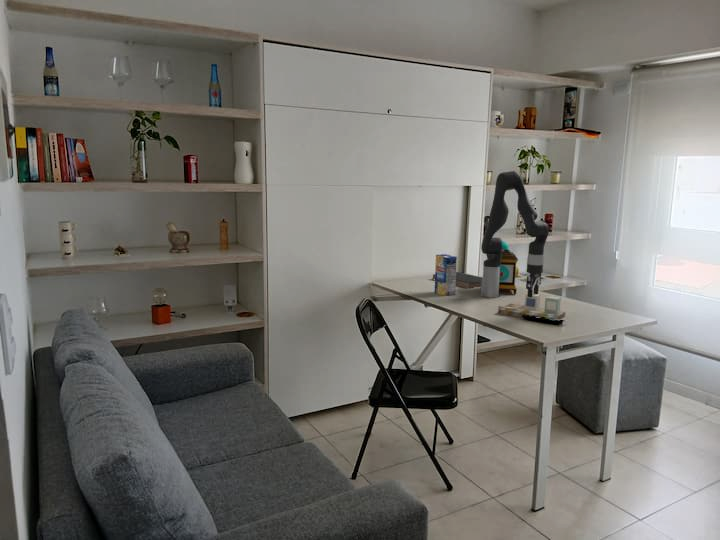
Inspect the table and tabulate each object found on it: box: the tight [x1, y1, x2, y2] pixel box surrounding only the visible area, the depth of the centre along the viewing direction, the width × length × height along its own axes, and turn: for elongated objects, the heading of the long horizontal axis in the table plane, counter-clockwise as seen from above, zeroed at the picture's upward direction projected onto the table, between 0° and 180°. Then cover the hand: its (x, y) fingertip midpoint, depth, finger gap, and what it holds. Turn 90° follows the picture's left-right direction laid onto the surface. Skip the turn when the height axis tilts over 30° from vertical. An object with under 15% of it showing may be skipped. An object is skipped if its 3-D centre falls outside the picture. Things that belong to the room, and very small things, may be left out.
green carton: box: [544, 295, 562, 316], centre depth 269 cm, size 6×4×8 cm
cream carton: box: [524, 293, 541, 312], centre depth 275 cm, size 6×4×8 cm
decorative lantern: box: [485, 240, 519, 295], centre depth 326 cm, size 20×20×30 cm
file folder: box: [432, 271, 483, 289], centre depth 355 cm, size 33×4×24 cm
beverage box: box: [434, 253, 458, 297], centre depth 318 cm, size 7×11×22 cm, turn 26°
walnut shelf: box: [497, 302, 566, 320], centre depth 275 cm, size 28×16×4 cm, turn 53°
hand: (532, 295), depth 274 cm, fingers open, 8 cm apart
